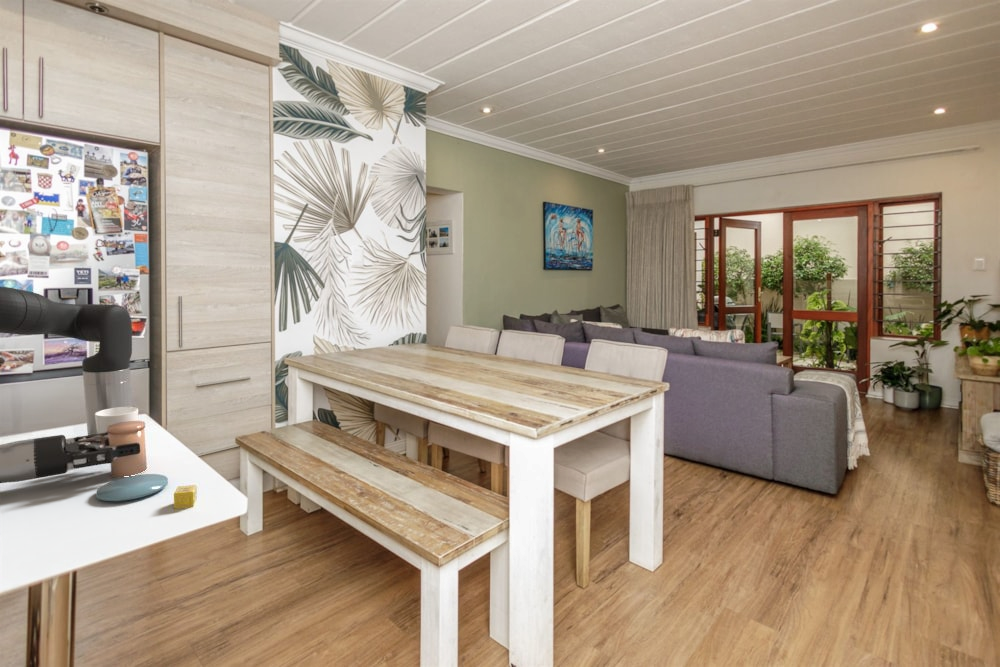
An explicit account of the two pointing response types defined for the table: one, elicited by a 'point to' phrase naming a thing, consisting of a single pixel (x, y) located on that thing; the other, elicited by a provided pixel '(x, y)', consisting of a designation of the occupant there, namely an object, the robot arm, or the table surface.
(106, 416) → the white cup
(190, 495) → the alphabet block
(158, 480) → the blue-grey round disc
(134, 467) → the dome-topped peach cylinder
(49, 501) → the table surface
